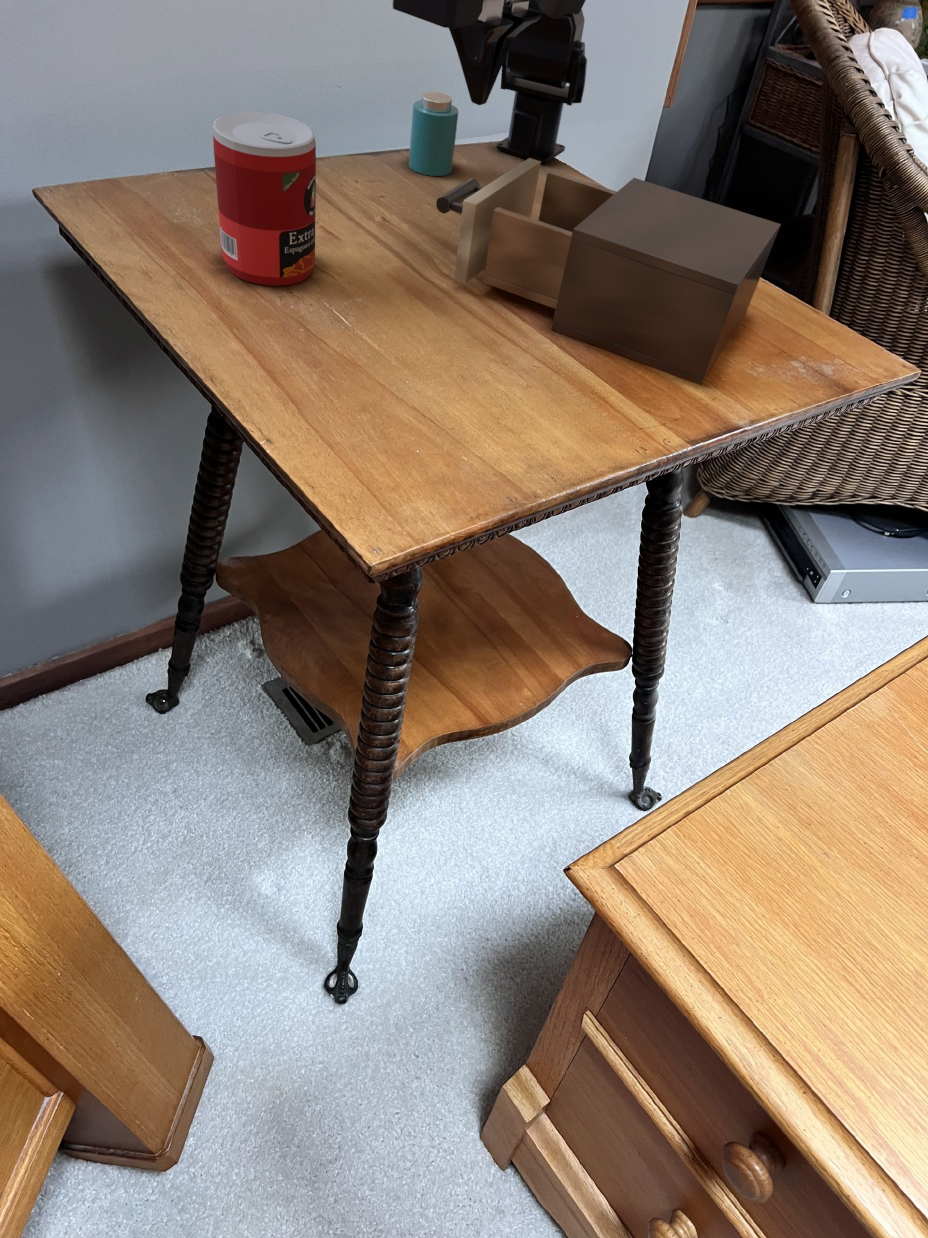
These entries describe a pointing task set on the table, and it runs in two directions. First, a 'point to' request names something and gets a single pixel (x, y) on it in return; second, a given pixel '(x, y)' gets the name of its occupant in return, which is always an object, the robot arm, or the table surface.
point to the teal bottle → (433, 134)
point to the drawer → (520, 229)
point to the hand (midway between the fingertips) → (478, 103)
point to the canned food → (266, 196)
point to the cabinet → (662, 277)
